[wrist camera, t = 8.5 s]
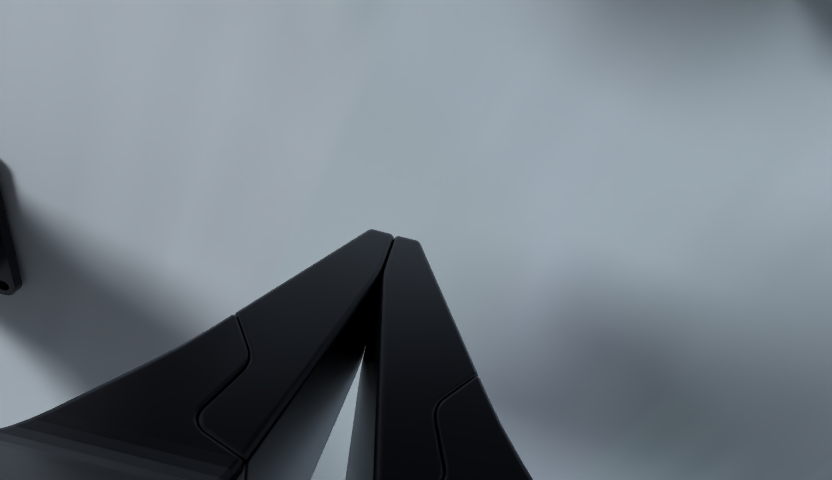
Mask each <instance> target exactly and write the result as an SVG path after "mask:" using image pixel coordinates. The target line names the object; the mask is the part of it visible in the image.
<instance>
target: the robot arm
mask: <svg viewBox="0 0 832 480" xmlns="http://www.w3.org/2000/svg"><path fill="white" fill-rule="evenodd" d="M21 287H22V280H21V276H20V272H19V268H18V264H17V259H16V255H15V251H14V247H13V243H12V238H11V234H10V230H9V226H8V222H7V218H6V213H5V209H4V205H3V201H2V197H1V192H0V294H4V295H12V294H14V293H15V292H16V291H17V290H19V289H20V288H21ZM364 351H365V352H364ZM363 354H364V357H363ZM362 357H363V361H362V366H361V372H360V379H359V386H358V393H357V400H356V407H355V415H354V422H353V429H352V436H351V444H350V451H349V458H348V465H347V472H346V480H533V479H532V477H531V476H530V474H529V472H528V471H527V469H526V467H525V466H524V464H523V462H522V461H521V459H520V457H519V455H518V454H517V452H516V450H515V448H514V447H513V445H512V443H511V441H510V439H509V438H508V436H507V434H506V432H505V431H504V429H503V427H502V425H501V423H500V421H499V419H498V417H497V415H496V413H495V411H494V409H493V407H492V404H491V402H490V400H489V398H488V396H487V394H486V392H485V389H484V387H483V385H482V382H481V380H480V378H478V374H477V371H476V369H475V367H474V365H473V362H472V360H471V358H470V356H469V353H468V351H467V349H466V347H465V344H464V342H463V340H462V337H461V335H460V333H459V331H458V328H457V326H456V324H455V322H454V319H453V317H452V315H451V313H450V310H449V308H448V306H447V303H446V301H445V299H444V297H443V294H442V292H441V290H440V288H439V285H438V283H437V281H436V279H435V276H434V274H433V272H432V269H431V267H430V265H429V263H428V260H427V258H426V256H425V254H424V251H423V249H422V247H421V245H420V243H419V242H418V241H416V240H412V239H408V238H404V237H400V236H397V237H395V238H393V236H392V235H391V234H388V233H385V232H381V231H377V230H373V229H371V230H368V231H366V232H365V233H363V234H362V235H360V236H358V237H357V238H355V239H354V240H352V241H350V242H349V243H347V244H346V245H344V246H342V247H341V248H339V249H337V250H336V251H334V252H333V253H331V254H329V255H328V256H326V257H325V258H323V259H321V260H320V261H318V262H317V263H315V264H313V265H312V266H310V267H309V268H307V269H305V270H304V271H302V272H301V273H299V274H297V275H296V276H294V277H293V278H291V279H289V280H288V281H286V282H285V283H283V284H281V285H280V286H278V287H276V288H275V289H273V290H272V291H270V292H268V293H267V294H265V295H264V296H262V297H260V298H259V299H257V300H256V301H254V302H252V303H251V304H249V305H248V306H246V307H244V308H243V309H241V310H240V311H238V312H237V313H236V314H235V315H231V316H230V317H228V318H226V319H225V320H223V321H222V322H220V323H218V324H217V325H215V326H213V327H212V328H210V329H208V330H207V331H205V332H203V333H201V334H200V335H198V336H196V337H195V338H193V339H191V340H189V341H188V342H186V343H184V344H183V345H181V346H179V347H177V348H175V349H173V350H171V351H169V352H167V353H165V354H163V355H161V356H159V357H157V358H155V359H153V360H151V361H149V362H148V363H146V364H143V365H141V366H139V367H137V368H135V369H133V370H131V371H129V372H127V373H125V374H123V375H121V376H119V377H117V378H115V379H113V380H111V381H108V382H106V383H104V384H102V385H100V386H98V387H96V388H94V389H92V390H90V391H88V392H86V393H84V394H82V395H80V396H78V397H75V398H73V399H71V400H69V401H67V402H65V403H63V404H61V405H59V406H57V407H55V408H53V409H51V410H49V411H46V412H44V413H42V414H40V415H37V416H35V417H33V418H31V419H28V420H25V421H22V422H20V423H17V424H14V425H11V426H8V427H4V428H1V429H0V480H310V479H311V477H312V475H313V472H314V470H315V468H316V466H317V463H318V461H319V459H320V456H321V454H322V452H323V449H324V447H325V445H326V442H327V440H328V438H329V436H330V433H331V431H332V429H333V426H334V424H335V422H336V419H337V417H338V415H339V413H340V410H341V408H342V406H343V403H344V401H345V399H346V396H347V394H348V392H349V389H350V387H351V385H352V383H353V380H354V378H355V376H356V373H357V371H358V368H359V366H360V363H361V360H362Z"/></svg>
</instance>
